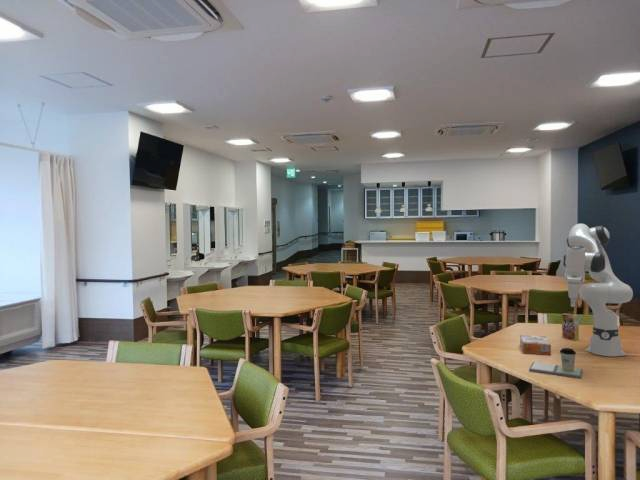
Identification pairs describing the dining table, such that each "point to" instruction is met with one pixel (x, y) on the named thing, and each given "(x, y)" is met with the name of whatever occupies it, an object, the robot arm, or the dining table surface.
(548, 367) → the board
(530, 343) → the cracker box
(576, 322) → the candy box
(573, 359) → the coffee cup
